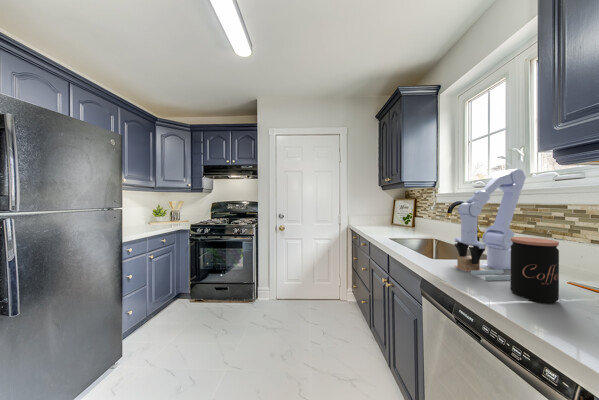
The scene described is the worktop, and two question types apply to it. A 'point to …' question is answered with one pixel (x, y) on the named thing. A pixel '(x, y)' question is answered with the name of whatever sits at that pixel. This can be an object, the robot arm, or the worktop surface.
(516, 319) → the worktop surface
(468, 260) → the walnut block
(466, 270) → the terracotta tile
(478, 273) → the acrylic channel
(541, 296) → the coffee jar
